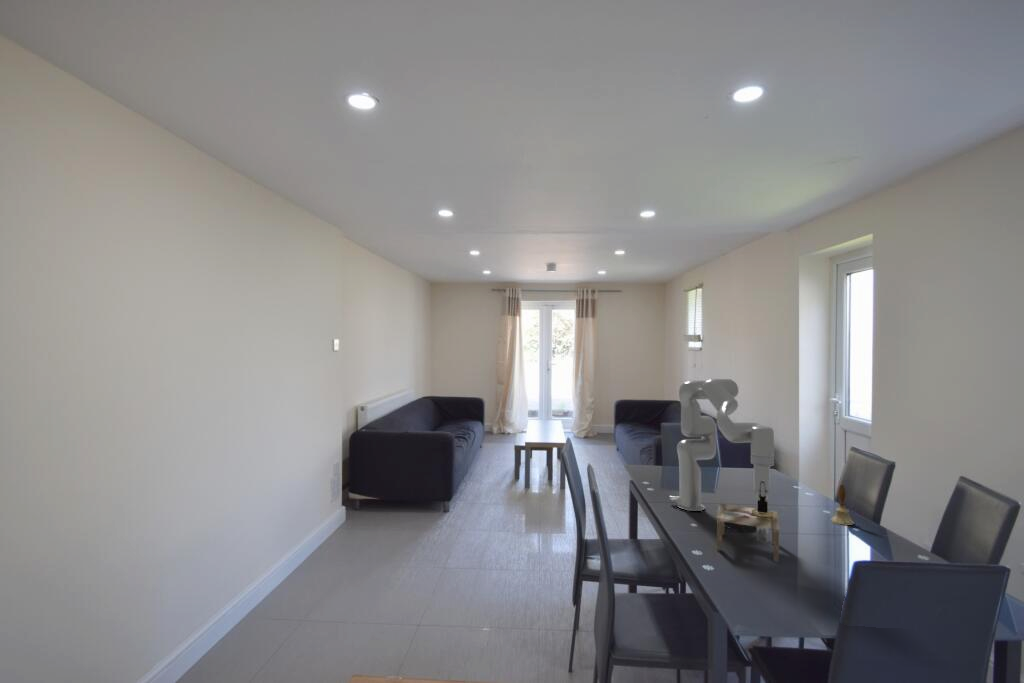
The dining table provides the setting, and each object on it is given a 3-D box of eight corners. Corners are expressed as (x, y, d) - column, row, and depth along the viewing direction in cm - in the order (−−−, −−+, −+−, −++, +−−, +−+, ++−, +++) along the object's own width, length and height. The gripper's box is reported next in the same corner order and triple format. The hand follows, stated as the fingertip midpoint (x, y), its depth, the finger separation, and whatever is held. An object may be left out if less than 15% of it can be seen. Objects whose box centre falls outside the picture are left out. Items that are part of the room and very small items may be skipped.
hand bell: (829, 522, 198) (829, 484, 198) (832, 517, 204) (832, 481, 204) (853, 527, 192) (852, 488, 192) (855, 522, 198) (855, 484, 198)
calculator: (717, 515, 196) (741, 508, 202) (717, 525, 196) (741, 518, 202) (740, 524, 186) (764, 516, 192) (740, 535, 186) (765, 527, 192)
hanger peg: (751, 540, 168) (751, 496, 168) (751, 534, 174) (751, 491, 175) (773, 544, 165) (773, 499, 165) (773, 537, 171) (772, 494, 171)
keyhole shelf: (716, 550, 168) (716, 517, 169) (719, 533, 184) (719, 503, 185) (779, 562, 159) (779, 527, 159) (777, 543, 175) (777, 511, 175)
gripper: (750, 454, 179) (750, 502, 179) (750, 463, 165) (750, 515, 164) (772, 456, 176) (773, 505, 175) (774, 466, 161) (775, 519, 161)
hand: (762, 509), depth 170 cm, fingers closed on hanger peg, 3 cm apart
